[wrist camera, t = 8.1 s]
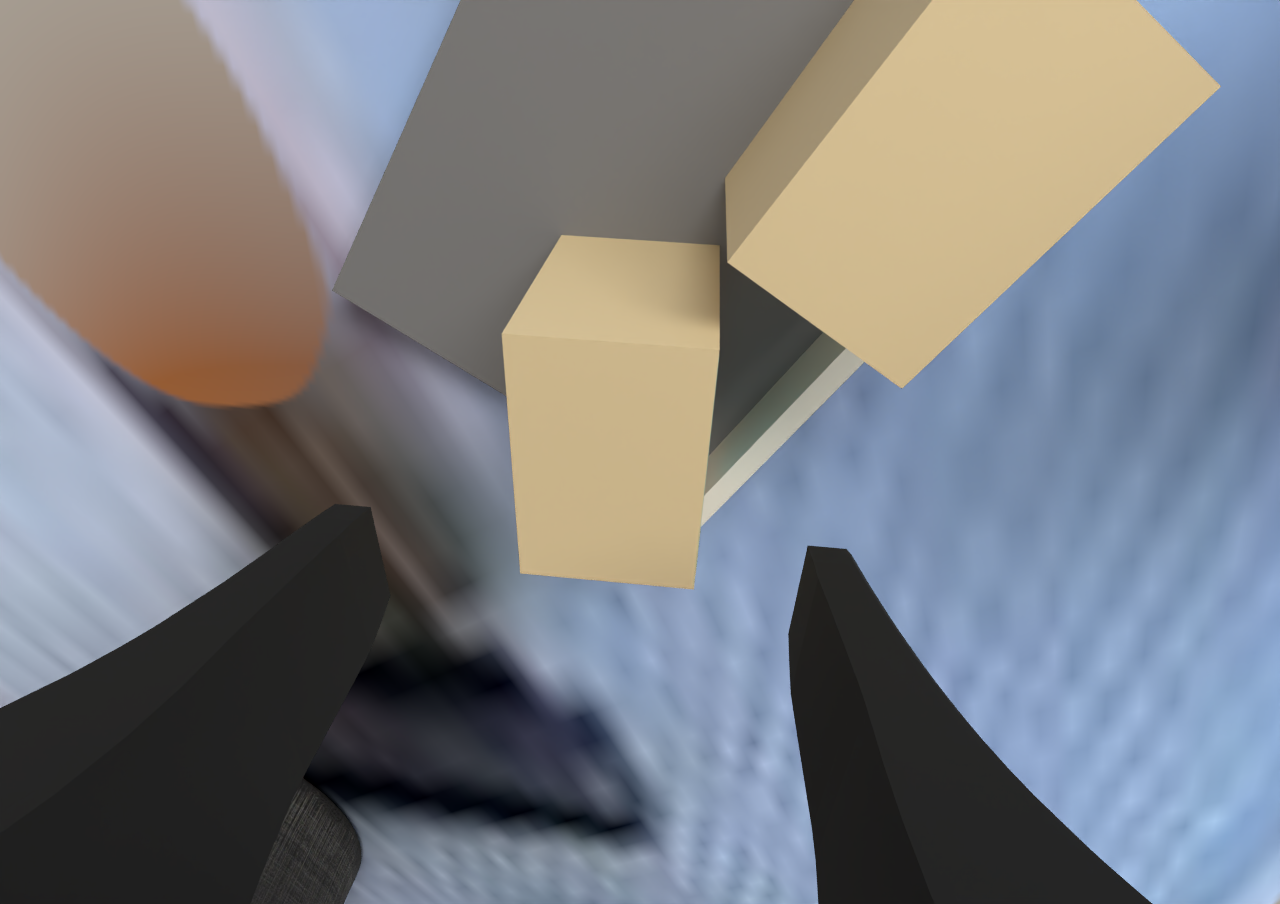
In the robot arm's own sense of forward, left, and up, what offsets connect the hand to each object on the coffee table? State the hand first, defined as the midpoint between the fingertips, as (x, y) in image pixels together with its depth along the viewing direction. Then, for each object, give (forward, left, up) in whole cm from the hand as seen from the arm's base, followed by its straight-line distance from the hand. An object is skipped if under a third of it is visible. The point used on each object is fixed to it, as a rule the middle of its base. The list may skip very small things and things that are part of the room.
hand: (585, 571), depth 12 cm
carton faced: (-1, -8, -9) cm, 12 cm away
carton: (0, 0, -9) cm, 9 cm away
